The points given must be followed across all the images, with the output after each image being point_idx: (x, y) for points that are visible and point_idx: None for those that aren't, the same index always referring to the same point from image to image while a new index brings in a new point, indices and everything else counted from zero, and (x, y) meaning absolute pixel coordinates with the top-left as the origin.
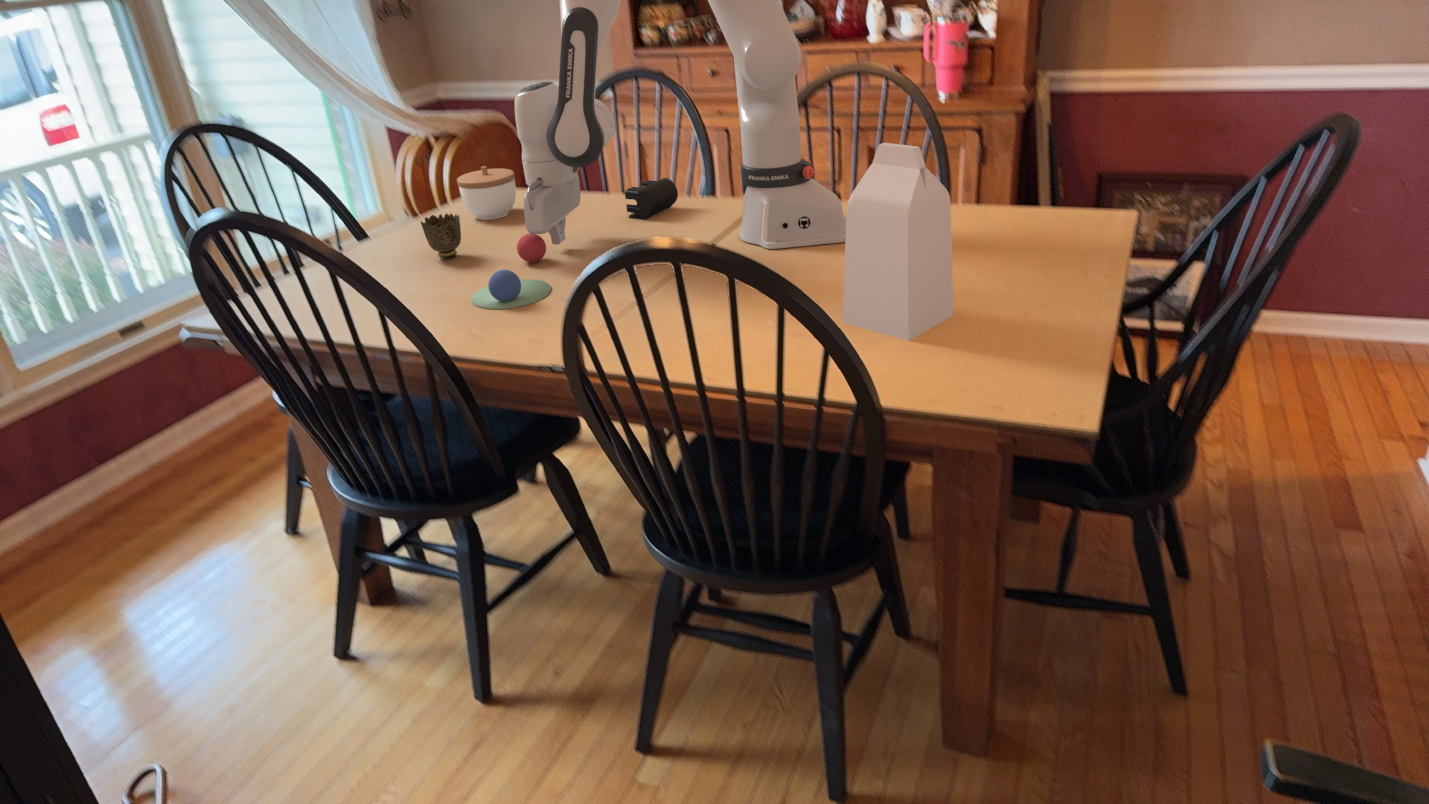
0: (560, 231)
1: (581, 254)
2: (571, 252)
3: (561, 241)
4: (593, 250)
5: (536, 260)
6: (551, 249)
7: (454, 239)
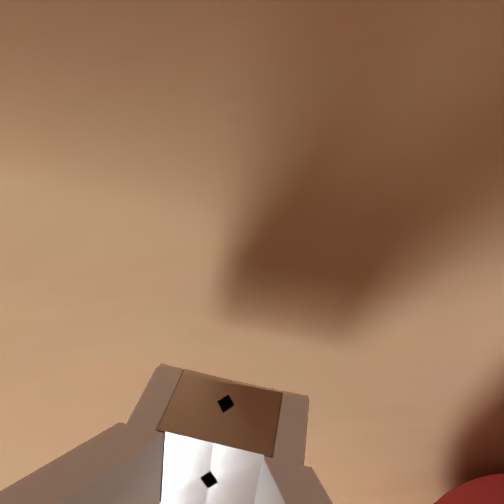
0: (158, 463)
1: (429, 139)
2: (329, 254)
3: (271, 393)
4: (313, 14)
5: None
6: None
7: None
